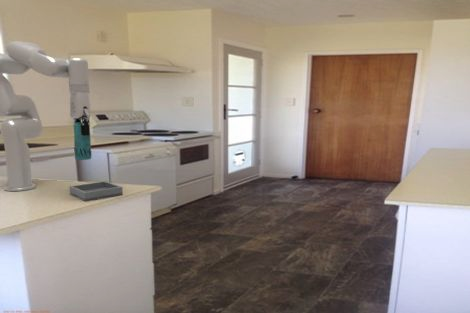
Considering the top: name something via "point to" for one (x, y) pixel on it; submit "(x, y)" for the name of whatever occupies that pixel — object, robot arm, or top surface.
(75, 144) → the beverage bottle
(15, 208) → the top surface
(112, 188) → the tray
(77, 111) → the robot arm
